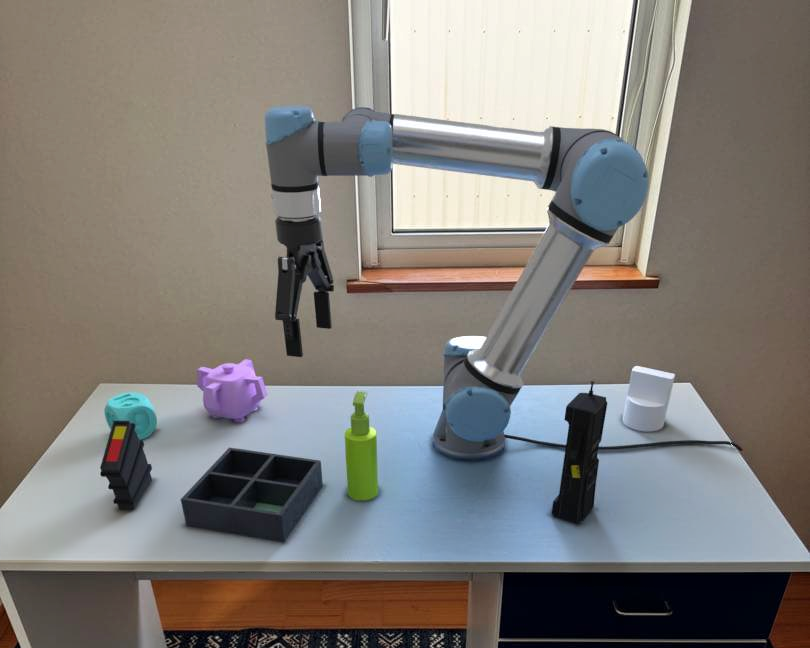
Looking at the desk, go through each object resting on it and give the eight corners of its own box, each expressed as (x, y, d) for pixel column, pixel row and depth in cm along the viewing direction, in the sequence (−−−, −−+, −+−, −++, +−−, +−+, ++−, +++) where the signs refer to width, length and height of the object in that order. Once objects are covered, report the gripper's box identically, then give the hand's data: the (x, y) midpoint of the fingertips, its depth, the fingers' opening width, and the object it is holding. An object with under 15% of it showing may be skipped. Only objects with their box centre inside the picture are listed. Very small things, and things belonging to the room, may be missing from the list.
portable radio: (579, 528, 137) (600, 403, 122) (548, 518, 140) (565, 395, 125) (594, 508, 142) (616, 385, 127) (564, 498, 145) (582, 377, 130)
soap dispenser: (380, 482, 150) (378, 389, 138) (375, 501, 144) (373, 406, 132) (351, 480, 150) (346, 388, 138) (345, 499, 145) (340, 405, 133)
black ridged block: (158, 464, 152) (132, 419, 139) (144, 521, 146) (115, 479, 133) (139, 464, 152) (112, 418, 139) (125, 520, 146) (94, 479, 133)
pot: (223, 390, 184) (216, 344, 177) (287, 402, 179) (282, 355, 172) (180, 423, 170) (171, 375, 163) (248, 436, 165) (241, 387, 158)
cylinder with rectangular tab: (617, 425, 169) (626, 375, 162) (630, 409, 175) (639, 360, 168) (656, 435, 165) (668, 384, 158) (668, 419, 171) (680, 369, 164)
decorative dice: (141, 421, 171) (134, 388, 166) (160, 433, 166) (153, 400, 162) (109, 433, 166) (100, 400, 162) (127, 445, 162) (118, 412, 157)
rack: (322, 485, 149) (320, 460, 145) (284, 542, 134) (281, 515, 130) (233, 472, 153) (229, 447, 150) (186, 525, 138) (180, 499, 135)
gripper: (306, 197, 133) (317, 315, 146) (242, 234, 114) (260, 366, 127) (346, 199, 131) (353, 318, 144) (287, 237, 112) (302, 371, 125)
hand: (310, 341), depth 135 cm, fingers open, 13 cm apart
